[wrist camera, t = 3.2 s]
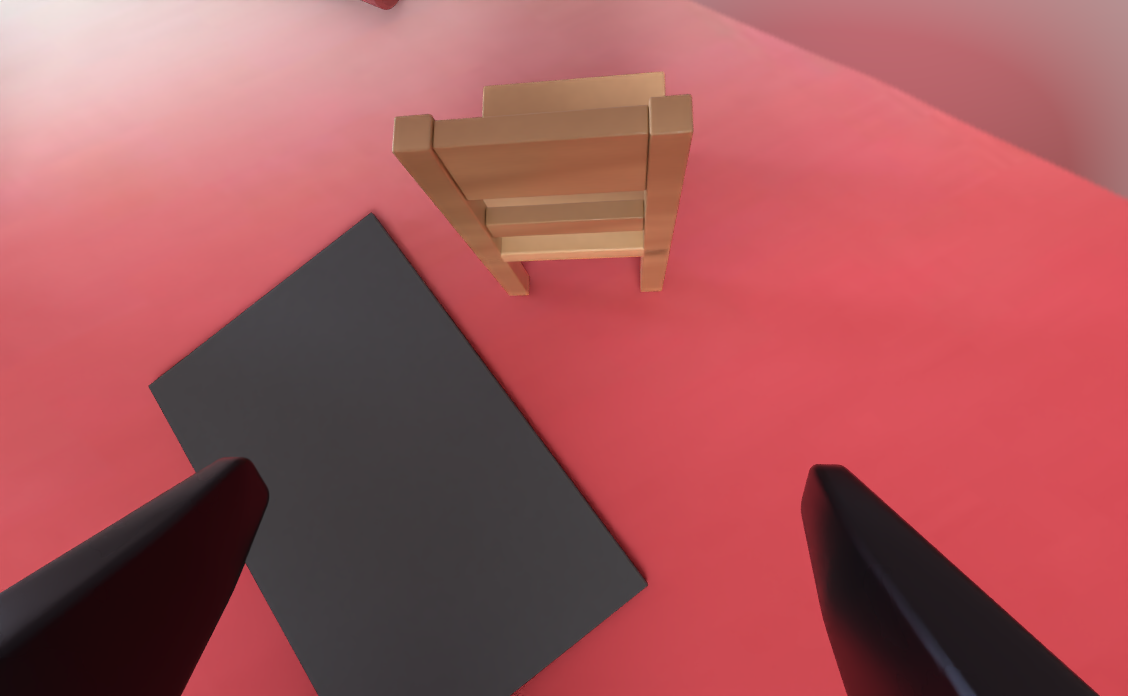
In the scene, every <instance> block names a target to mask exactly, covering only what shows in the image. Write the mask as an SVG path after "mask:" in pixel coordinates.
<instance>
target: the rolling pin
mask: <svg viewBox="0 0 1128 696" xmlns="http://www.w3.org/2000/svg"><path fill="white" fill-rule="evenodd" d="M362 1H364V2H367V3H369V4H372V5H374V6H376V7H379V8H381V9H384V10H388V9H391V8H393V7H394V6H395V5H396V3H397V2H398V1H399V0H362Z"/></svg>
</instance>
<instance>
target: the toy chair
mask: <svg viewBox="0 0 1128 696" xmlns="http://www.w3.org/2000/svg"><path fill="white" fill-rule="evenodd" d="M692 135H693V109H692V96H691V95H690V94H686V95H673V96H665V74H664V72H651V73H638V74H626V75H614V76H602V77H590V78H578V79H566V80H554V81H542V82H530V83H517V84H505V85H493V86H485V87H484V88H483V107H482V117H476V118H463V119H450V120H436V121H435V120H434V118H433V116H432V115H430V114H425V115H412V116H399V117H395V118H394V131H393V144H392V152H393V154H394V155H395V156H396V157H397V158H398V160H399V161H400V162H401V163H402V165H403V166H404V167H405V168H406V170H407V171H408V172H409V173H410V174H411V176H412V177H413V178H414V179H415V181H416V182H417V183H418V184H419V185H420V187H421V188H422V189H423V190H424V192H425V193H426V194H427V195H428V196H429V198H430V199H431V200H432V201H433V203H434V204H435V205H436V206H437V207H438V209H439V210H440V211H441V212H442V214H443V215H444V216H445V217H446V218H447V220H448V221H449V222H450V223H451V225H452V226H453V227H454V228H455V230H456V231H457V232H458V233H459V234H460V236H461V237H462V238H463V239H464V241H465V242H466V243H467V244H468V245H469V247H470V248H471V249H472V250H473V252H474V253H475V254H476V255H477V256H478V258H479V259H480V260H481V261H482V263H483V264H484V265H485V266H486V267H487V269H488V270H489V271H490V272H491V274H492V275H493V276H494V277H495V278H496V280H497V281H498V282H499V283H500V285H501V286H502V287H503V288H504V290H505V291H506V292H507V293H508V294H509V295H510V296H518V295H529V275H528V273H527V272H526V270H525V268H524V267H523V265H522V263H521V262H520V261H538V260H563V259H589V258H615V257H641V265H640V290H641V292H650V291H662V288H663V282H664V277H665V272H666V267H667V262H668V257H669V252H670V247H671V242H672V237H673V232H674V227H675V222H676V216H677V211H678V206H679V201H680V196H681V191H682V186H683V181H684V176H685V171H686V166H687V161H688V156H689V151H690V145H691V140H692Z"/></svg>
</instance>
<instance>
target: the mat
mask: <svg viewBox="0 0 1128 696" xmlns="http://www.w3.org/2000/svg"><path fill="white" fill-rule="evenodd" d="M149 388H150V390H151V392H152V394H153V395H154V397H155V399H156V401H157V403H158V404H159V406H160V408H161V410H162V412H163V414H164V415H165V417H166V419H167V421H168V423H169V424H170V426H171V428H172V430H173V432H174V434H175V435H176V437H177V439H178V441H179V443H180V444H181V446H182V448H183V450H184V452H185V454H186V455H187V457H188V459H189V461H190V463H191V464H192V466H193V468H194V470H195V472H196V473H197V472H199V471H200V470H202V469H203V468H205V467H207V466H208V465H210V464H212V463H213V462H215V461H216V460H218V459H221V458H224V457H245V458H248V459H250V460H251V461H252V462H253V464H254V465H255V467H256V469H257V470H258V472H259V474H260V475H261V477H262V479H263V480H264V482H265V484H266V485H267V487H268V489H269V503H268V506H267V508H266V511H265V513H264V516H263V518H262V521H261V523H260V526H259V529H258V531H257V534H256V536H255V539H254V541H253V544H252V546H251V549H250V551H249V554H248V556H247V559H246V561H245V563H246V565H247V566H248V568H249V570H250V572H251V574H252V575H253V577H254V579H255V581H256V583H257V585H258V586H259V588H260V590H261V592H262V594H263V595H264V597H265V599H266V601H267V603H268V605H269V606H270V608H271V610H272V612H273V614H274V616H275V617H276V619H277V621H278V623H279V625H280V626H281V628H282V630H283V632H284V634H285V636H286V637H287V639H288V641H289V643H290V645H291V646H292V648H293V650H294V652H295V654H296V656H297V657H298V659H299V661H300V663H301V665H302V666H303V668H304V670H305V672H306V674H307V676H308V677H309V679H310V681H311V683H312V685H313V686H314V688H315V690H316V692H317V694H318V696H510V695H511V694H512V693H514V692H515V691H516V690H518V689H519V688H520V687H521V686H523V685H524V684H525V683H526V682H528V681H529V680H530V679H531V678H533V677H534V676H535V675H536V674H538V673H539V672H540V671H541V670H543V669H544V668H545V667H546V666H548V665H549V664H550V663H551V662H553V661H554V660H555V659H556V658H558V657H559V656H560V655H561V654H563V653H564V652H565V651H566V650H568V649H569V648H570V647H571V646H573V645H574V644H575V643H576V642H578V641H579V640H580V639H581V638H583V637H584V636H585V635H586V634H588V633H589V632H590V631H591V630H593V629H594V628H595V627H596V626H598V625H599V624H600V623H601V622H603V621H604V620H605V619H606V618H608V617H609V616H610V615H612V614H613V613H614V612H615V611H617V610H618V609H619V608H620V607H622V606H623V605H624V604H625V603H627V602H628V601H629V600H630V599H632V598H633V597H634V596H635V595H637V594H638V593H639V592H640V591H642V590H643V589H644V588H645V587H647V586H648V583H647V582H646V580H645V579H644V578H643V576H642V575H641V574H640V572H639V571H638V570H637V568H636V567H635V566H634V564H633V563H632V562H631V560H630V559H629V557H628V556H627V555H626V553H625V552H624V551H623V549H622V548H621V547H620V545H619V544H618V543H617V541H616V540H615V539H614V537H613V536H612V535H611V533H610V532H609V531H608V529H607V528H606V526H605V525H604V524H603V522H602V521H601V520H600V518H599V517H598V516H597V514H596V513H595V512H594V510H593V509H592V508H591V506H590V505H589V504H588V502H587V501H586V500H585V498H584V497H583V495H582V494H581V493H580V491H579V490H578V489H577V487H576V486H575V485H574V483H573V482H572V481H571V479H570V478H569V477H568V475H567V474H566V473H565V471H564V470H563V469H562V467H561V466H560V464H559V463H558V462H557V460H556V459H555V458H554V456H553V455H552V454H551V452H550V451H549V450H548V448H547V447H546V446H545V444H544V443H543V442H542V440H541V439H540V438H539V436H538V435H537V434H536V432H535V431H534V429H533V428H532V427H531V425H530V424H529V423H528V421H527V420H526V419H525V417H524V416H523V415H522V413H521V412H520V411H519V409H518V408H517V407H516V405H515V404H514V403H513V401H512V400H511V398H510V397H509V396H508V394H507V393H506V392H505V390H504V389H503V388H502V386H501V385H500V384H499V382H498V381H497V380H496V378H495V377H494V376H493V374H492V373H491V372H490V370H489V369H488V367H487V366H486V365H485V363H484V362H483V361H482V359H481V358H480V357H479V355H478V354H477V353H476V351H475V350H474V349H473V347H472V346H471V345H470V343H469V342H468V341H467V339H466V338H465V336H464V335H463V334H462V332H461V331H460V330H459V328H458V327H457V326H456V324H455V323H454V322H453V320H452V319H451V318H450V316H449V315H448V314H447V312H446V311H445V310H444V308H443V307H442V305H441V304H440V303H439V301H438V300H437V299H436V297H435V296H434V295H433V293H432V292H431V291H430V289H429V288H428V287H427V285H426V284H425V283H424V281H423V280H422V279H421V277H420V276H419V274H418V273H417V272H416V270H415V269H414V268H413V266H412V265H411V264H410V262H409V261H408V260H407V258H406V257H405V256H404V254H403V253H402V252H401V250H400V249H399V248H398V246H397V245H396V243H395V242H394V241H393V239H392V238H391V237H390V235H389V234H388V233H387V231H386V230H385V229H384V227H383V226H382V225H381V223H380V222H379V221H378V219H377V218H376V217H375V215H374V214H373V213H370V214H369V215H367V216H366V217H365V218H364V219H362V220H361V221H360V222H358V223H357V224H356V225H355V226H353V227H352V228H351V229H349V230H348V231H347V232H346V233H344V234H343V235H342V236H340V237H339V238H338V239H337V240H335V241H334V242H333V243H331V244H330V245H329V246H328V247H326V248H325V249H324V250H322V251H321V252H320V253H319V254H317V255H316V256H315V257H313V258H312V259H311V260H310V261H308V262H307V263H306V264H304V265H303V266H302V267H301V268H299V269H298V270H297V271H295V272H294V273H293V274H292V275H290V276H289V277H288V278H286V279H285V280H284V281H283V282H281V283H280V284H279V285H277V286H276V287H275V288H274V289H272V290H271V291H270V292H268V293H267V294H266V295H265V296H263V297H262V298H261V299H259V300H258V301H257V302H256V303H254V304H253V305H252V306H250V307H249V308H248V309H247V310H245V311H244V312H243V313H241V314H240V315H239V316H238V317H236V318H235V319H234V320H232V321H231V322H230V323H229V324H227V325H226V326H225V327H223V328H222V329H221V330H220V331H218V332H217V333H216V334H214V335H213V336H212V337H211V338H209V339H208V340H207V341H205V342H204V343H203V344H202V345H200V346H199V347H198V348H196V349H195V350H194V351H193V352H191V353H190V354H189V355H188V356H186V357H185V358H184V359H182V360H181V361H180V362H179V363H177V364H176V365H175V366H173V367H172V368H171V369H170V370H168V371H167V372H166V373H164V374H163V375H162V376H161V377H159V378H158V379H157V380H155V381H154V382H153V383H152V384H150V385H149Z"/></svg>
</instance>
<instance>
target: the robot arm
mask: <svg viewBox="0 0 1128 696" xmlns="http://www.w3.org/2000/svg"><path fill="white" fill-rule="evenodd" d="M268 503H269V489H268V487H267V485H266V484H265V482H264V480H263V479H262V477H261V475H260V474H259V472H258V470H257V469H256V467H255V465H254V464H253V462H252V461H251V460H250V459H248V458H245V457H224V458H221V459H218V460H216V461H215V462H213V463H212V464H210V465H208V466H207V467H205V468H203V469H202V470H200V471H199V472H197V473H195V474H194V475H192V476H190V477H189V478H187V479H185V480H184V481H182V482H181V483H179V484H177V485H176V486H174V487H172V488H171V489H169V490H168V491H166V492H164V493H163V494H161V495H159V496H158V497H156V498H155V499H153V500H151V501H150V502H148V503H146V504H145V505H143V506H141V507H140V508H138V509H137V510H135V511H133V512H132V513H130V514H128V515H127V516H125V517H124V518H122V519H120V520H119V521H117V522H115V523H114V524H112V525H110V526H109V527H107V528H106V529H104V530H102V531H101V532H99V533H97V534H96V535H94V536H93V537H91V538H89V539H88V540H86V541H84V542H83V543H81V544H80V545H78V546H76V547H75V548H73V549H71V550H70V551H68V552H66V553H65V554H63V555H62V556H60V557H58V558H57V559H55V560H53V561H52V562H50V563H49V564H47V565H45V566H44V567H42V568H40V569H39V570H37V571H35V572H34V573H32V574H31V575H29V576H27V577H26V578H24V579H22V580H21V581H19V582H18V583H16V584H14V585H13V586H11V587H9V588H8V589H6V590H5V591H3V592H1V593H0V696H181V694H182V692H183V690H184V689H185V687H186V685H187V683H188V681H189V679H190V677H191V675H192V673H193V671H194V669H195V667H196V665H197V663H198V661H199V659H200V657H201V655H202V653H203V651H204V649H205V647H206V645H207V643H208V641H209V639H210V637H211V635H212V633H213V631H214V629H215V627H216V625H217V623H218V621H219V619H220V617H221V615H222V613H223V611H224V609H225V607H226V605H227V603H228V601H229V599H230V597H231V595H232V593H233V591H234V588H235V586H236V584H237V581H238V579H239V577H240V574H241V572H242V569H243V567H244V564H245V561H246V559H247V556H248V554H249V551H250V549H251V546H252V544H253V541H254V539H255V536H256V534H257V531H258V529H259V526H260V523H261V521H262V518H263V516H264V513H265V511H266V508H267V506H268ZM801 513H802V520H803V524H804V529H805V534H806V539H807V544H808V549H809V554H810V559H811V564H812V568H813V573H814V578H815V583H816V588H817V593H818V598H819V603H820V607H821V611H822V616H823V620H824V623H825V627H826V630H827V633H828V637H829V640H830V643H831V646H832V649H833V652H834V655H835V658H836V661H837V665H838V668H839V671H840V674H841V677H842V680H843V683H844V686H845V689H846V692H847V696H1100V695H1098V694H1097V693H1096V692H1095V691H1094V690H1093V689H1092V688H1091V687H1090V686H1088V685H1087V684H1086V683H1085V682H1084V681H1083V680H1082V679H1081V678H1080V677H1078V676H1077V675H1076V674H1075V673H1074V672H1073V671H1072V670H1071V669H1070V668H1068V667H1067V666H1066V665H1065V664H1064V663H1063V662H1062V661H1061V660H1060V659H1058V658H1057V657H1056V656H1055V655H1054V654H1053V653H1052V652H1051V651H1050V650H1048V649H1047V648H1046V647H1045V646H1044V645H1043V644H1042V643H1041V642H1039V641H1038V640H1037V639H1036V638H1035V637H1034V636H1033V635H1032V634H1031V633H1029V632H1028V631H1027V630H1026V629H1025V628H1024V627H1023V626H1022V625H1021V624H1019V623H1018V622H1017V621H1016V620H1015V619H1014V618H1013V617H1012V616H1011V615H1009V614H1008V613H1007V612H1006V611H1005V610H1004V609H1003V608H1002V607H1001V606H999V605H998V604H997V603H996V602H995V601H994V600H993V599H992V598H991V597H989V596H988V595H987V594H986V593H985V592H984V591H983V590H982V589H981V588H979V587H978V586H977V585H976V584H975V583H974V582H973V581H972V580H970V579H969V578H968V577H967V576H966V575H965V574H964V573H963V572H962V571H960V570H959V569H958V568H957V567H956V566H955V565H954V564H953V563H952V562H950V561H949V560H948V559H947V558H946V557H945V556H944V555H943V554H942V553H940V552H939V551H938V550H937V549H936V548H935V547H934V546H933V545H932V544H930V543H929V542H928V541H927V540H926V539H925V538H924V537H923V536H922V535H920V534H919V533H918V532H917V531H916V530H915V529H914V528H913V527H912V526H910V525H909V524H908V523H907V522H906V521H905V520H904V519H903V518H901V517H900V516H899V515H898V514H897V513H896V512H895V511H894V510H893V509H891V508H890V507H889V506H888V505H887V504H886V503H885V502H884V501H883V500H881V499H880V498H879V497H878V496H877V495H876V494H875V493H874V492H873V491H871V490H870V489H869V488H868V487H867V486H866V485H865V484H864V483H863V482H861V481H860V480H859V479H858V478H857V477H856V476H855V475H854V474H853V473H851V472H850V471H849V470H848V469H847V468H845V467H844V466H842V465H835V464H816V465H813V466H812V467H811V468H810V471H809V474H808V478H807V482H806V485H805V489H804V493H803V497H802V501H801Z"/></svg>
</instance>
